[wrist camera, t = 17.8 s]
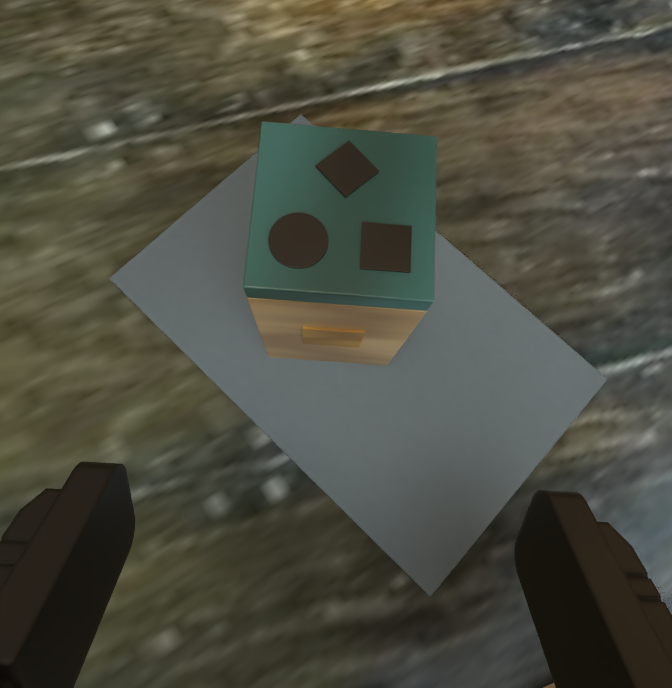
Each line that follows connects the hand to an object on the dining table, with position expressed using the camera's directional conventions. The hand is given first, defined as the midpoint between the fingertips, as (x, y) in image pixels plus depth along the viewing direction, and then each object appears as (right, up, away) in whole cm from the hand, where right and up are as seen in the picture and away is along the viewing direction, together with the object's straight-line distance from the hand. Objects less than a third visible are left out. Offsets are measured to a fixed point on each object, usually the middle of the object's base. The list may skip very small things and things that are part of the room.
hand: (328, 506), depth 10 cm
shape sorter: (0, +5, +16) cm, 17 cm away
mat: (+1, +4, +16) cm, 17 cm away
